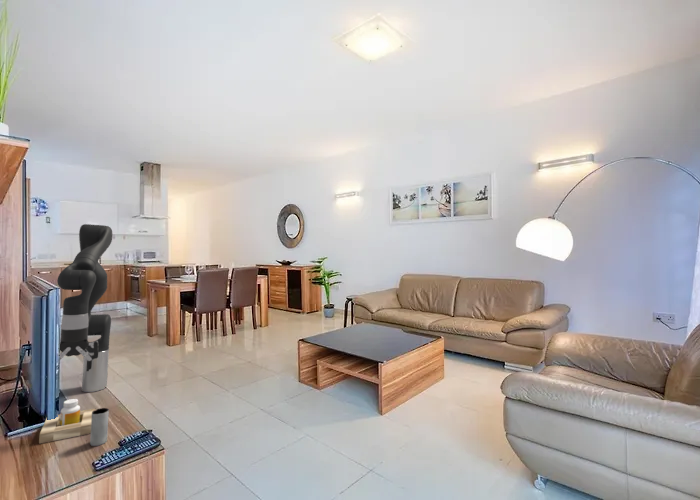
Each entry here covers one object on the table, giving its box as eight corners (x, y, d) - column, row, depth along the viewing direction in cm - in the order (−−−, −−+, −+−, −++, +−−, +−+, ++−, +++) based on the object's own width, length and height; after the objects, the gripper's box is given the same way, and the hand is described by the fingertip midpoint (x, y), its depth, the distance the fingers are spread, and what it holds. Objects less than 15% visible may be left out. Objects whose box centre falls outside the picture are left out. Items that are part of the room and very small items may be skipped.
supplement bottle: (83, 425, 124) (84, 398, 124) (69, 433, 119) (71, 404, 119) (69, 424, 125) (70, 397, 125) (55, 432, 119) (56, 403, 120)
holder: (46, 424, 124) (47, 416, 124) (95, 416, 131) (95, 408, 131) (39, 443, 112) (39, 434, 112) (92, 432, 120) (93, 424, 120)
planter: (108, 437, 117) (110, 407, 117) (104, 444, 113) (106, 413, 113) (92, 439, 115) (94, 408, 116) (88, 447, 111) (89, 414, 111)
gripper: (100, 323, 129) (98, 366, 129) (50, 325, 121) (47, 372, 121) (99, 327, 123) (96, 372, 123) (46, 330, 115) (43, 379, 115)
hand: (72, 372), depth 122 cm, fingers open, 8 cm apart
